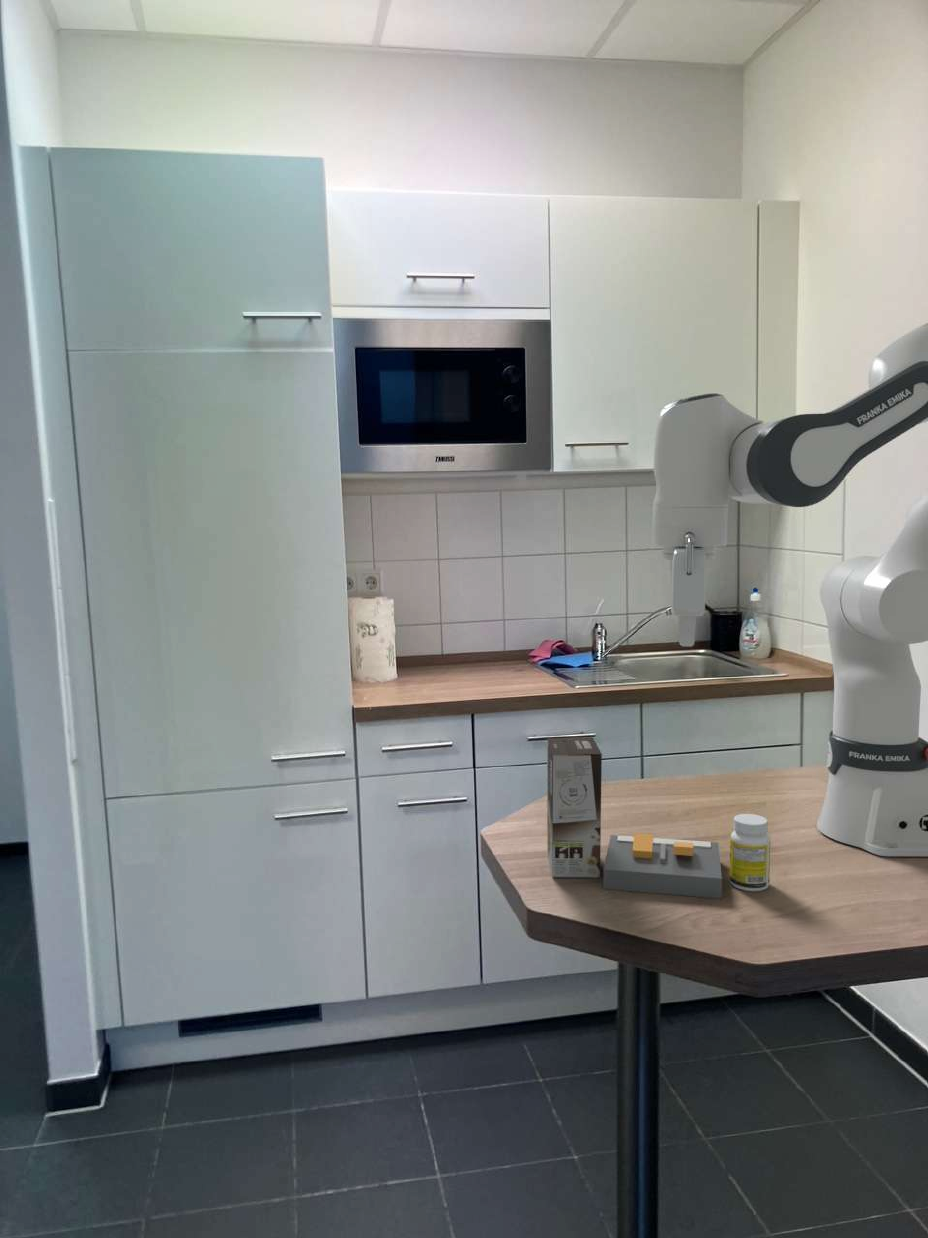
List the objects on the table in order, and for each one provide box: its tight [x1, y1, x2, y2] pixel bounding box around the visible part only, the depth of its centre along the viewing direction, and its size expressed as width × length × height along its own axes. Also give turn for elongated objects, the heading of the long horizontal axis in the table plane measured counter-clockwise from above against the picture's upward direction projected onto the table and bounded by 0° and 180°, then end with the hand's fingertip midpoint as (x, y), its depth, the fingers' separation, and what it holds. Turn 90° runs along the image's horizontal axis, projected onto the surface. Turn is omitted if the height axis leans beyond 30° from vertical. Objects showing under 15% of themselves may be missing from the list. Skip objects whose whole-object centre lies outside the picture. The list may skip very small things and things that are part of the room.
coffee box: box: [546, 736, 603, 879], centre depth 121 cm, size 9×6×16 cm
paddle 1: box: [633, 832, 654, 859], centre depth 118 cm, size 2×4×1 cm, turn 167°
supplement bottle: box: [729, 813, 771, 892], centre depth 114 cm, size 5×5×8 cm
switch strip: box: [602, 834, 723, 899], centre depth 118 cm, size 14×12×3 cm
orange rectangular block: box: [673, 842, 693, 856], centre depth 117 cm, size 2×4×1 cm, turn 167°
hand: (686, 644), depth 114 cm, fingers closed
